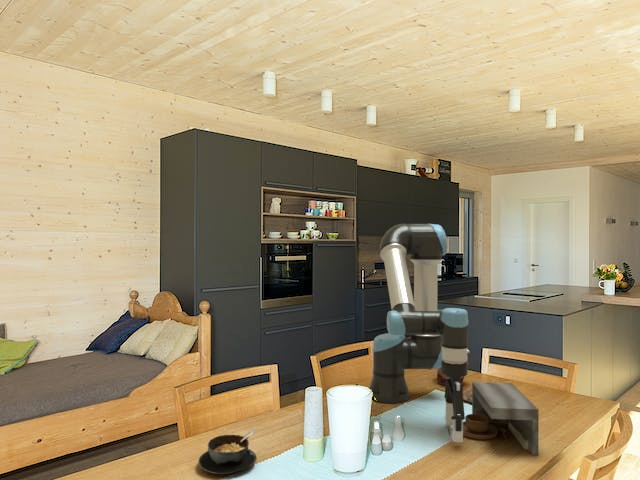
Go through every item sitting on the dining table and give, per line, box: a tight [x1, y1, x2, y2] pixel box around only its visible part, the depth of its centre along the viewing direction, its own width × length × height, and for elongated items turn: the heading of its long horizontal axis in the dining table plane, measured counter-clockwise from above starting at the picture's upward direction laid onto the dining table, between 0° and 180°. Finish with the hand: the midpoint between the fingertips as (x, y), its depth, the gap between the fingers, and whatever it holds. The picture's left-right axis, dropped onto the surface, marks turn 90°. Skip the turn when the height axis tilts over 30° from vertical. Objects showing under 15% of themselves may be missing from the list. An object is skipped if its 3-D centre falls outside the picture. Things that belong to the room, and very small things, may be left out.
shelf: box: [471, 381, 540, 457], centre depth 150 cm, size 12×26×12 cm, turn 174°
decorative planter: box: [436, 359, 470, 387], centre depth 205 cm, size 20×12×14 cm, turn 20°
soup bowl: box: [197, 427, 259, 475], centre depth 132 cm, size 15×16×7 cm
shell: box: [463, 388, 472, 405], centre depth 184 cm, size 12×13×4 cm
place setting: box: [445, 401, 508, 442], centre depth 157 cm, size 18×20×6 cm
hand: (453, 432), depth 150 cm, fingers open, 13 cm apart
